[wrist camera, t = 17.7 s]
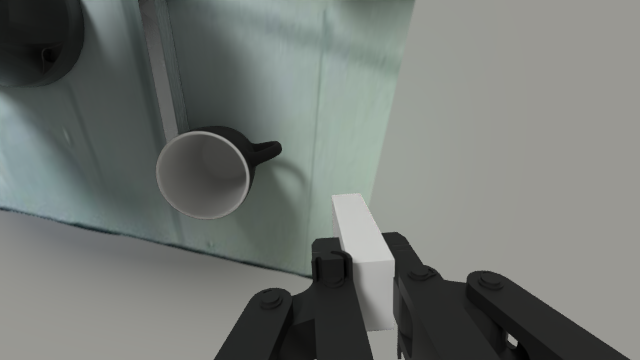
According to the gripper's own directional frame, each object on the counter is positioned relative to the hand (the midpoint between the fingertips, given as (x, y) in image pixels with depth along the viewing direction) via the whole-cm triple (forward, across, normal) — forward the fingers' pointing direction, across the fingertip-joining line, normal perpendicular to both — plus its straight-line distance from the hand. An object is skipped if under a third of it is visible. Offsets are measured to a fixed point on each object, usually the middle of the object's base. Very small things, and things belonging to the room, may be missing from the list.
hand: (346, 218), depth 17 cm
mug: (+25, -11, -1) cm, 27 cm away
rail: (+24, -17, +7) cm, 31 cm away
